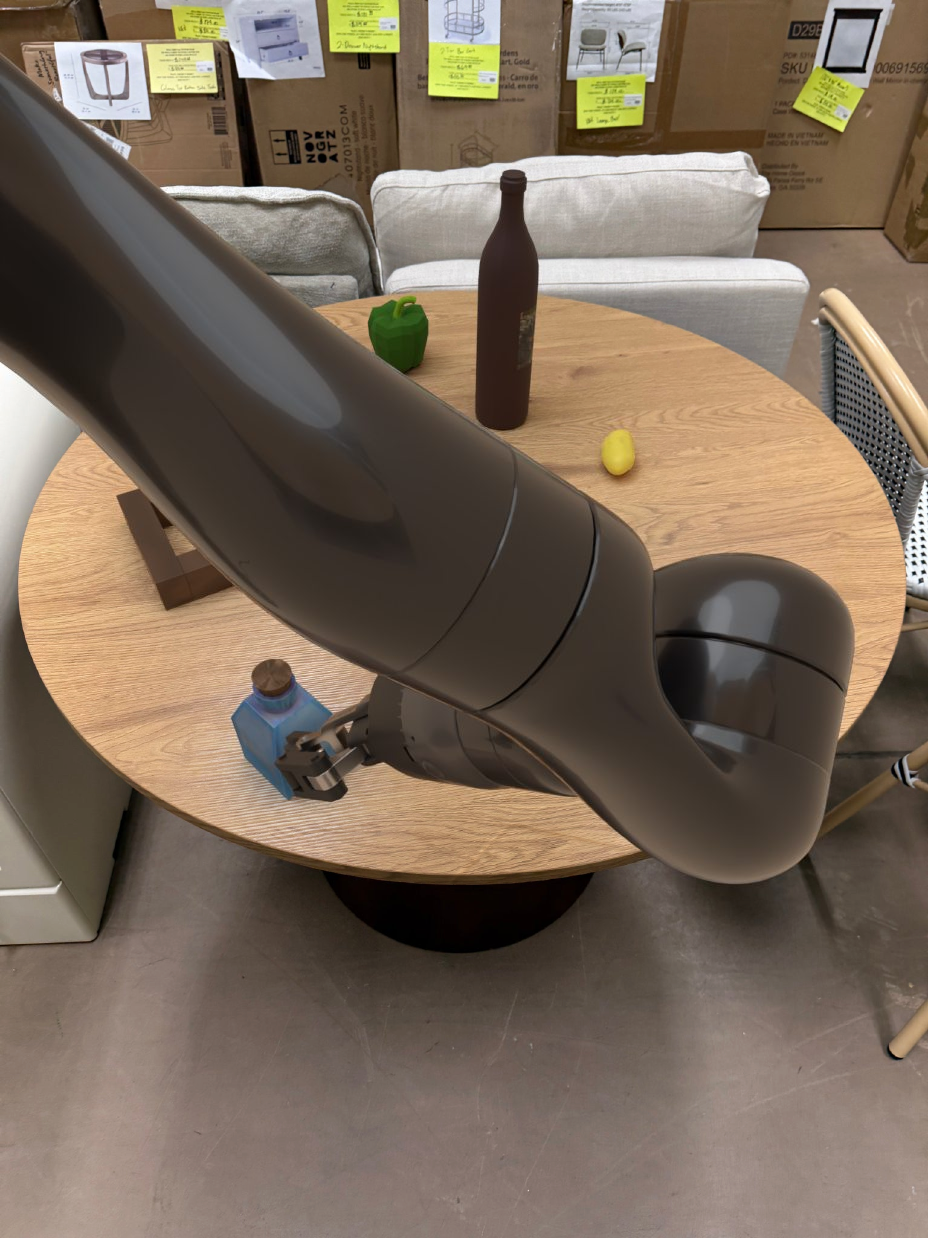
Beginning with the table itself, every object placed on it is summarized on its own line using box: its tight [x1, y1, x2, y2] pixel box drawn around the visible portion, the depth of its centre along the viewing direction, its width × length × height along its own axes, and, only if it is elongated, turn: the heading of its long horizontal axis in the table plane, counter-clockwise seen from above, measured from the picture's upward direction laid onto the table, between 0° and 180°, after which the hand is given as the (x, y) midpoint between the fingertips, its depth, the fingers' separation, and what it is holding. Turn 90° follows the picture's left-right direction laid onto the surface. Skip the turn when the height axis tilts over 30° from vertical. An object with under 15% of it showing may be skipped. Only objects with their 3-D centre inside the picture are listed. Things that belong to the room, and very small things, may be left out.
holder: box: [115, 488, 235, 611], centre depth 90 cm, size 16×16×4 cm
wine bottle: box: [474, 168, 540, 430], centre depth 97 cm, size 7×7×30 cm
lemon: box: [600, 429, 636, 476], centre depth 100 cm, size 4×8×4 cm, turn 167°
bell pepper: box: [367, 295, 430, 374], centre depth 113 cm, size 8×8×10 cm
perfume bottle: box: [230, 658, 335, 801], centre depth 68 cm, size 6×6×12 cm
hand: (347, 710), depth 55 cm, fingers open, 8 cm apart
